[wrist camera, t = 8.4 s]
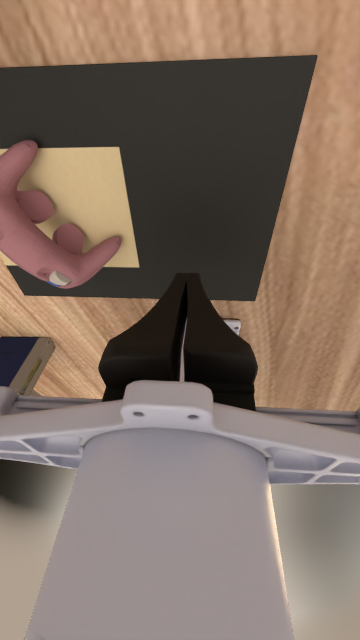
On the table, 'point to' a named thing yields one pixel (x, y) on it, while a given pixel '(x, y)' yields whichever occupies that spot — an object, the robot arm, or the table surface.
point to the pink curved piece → (33, 244)
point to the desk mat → (160, 165)
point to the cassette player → (23, 361)
